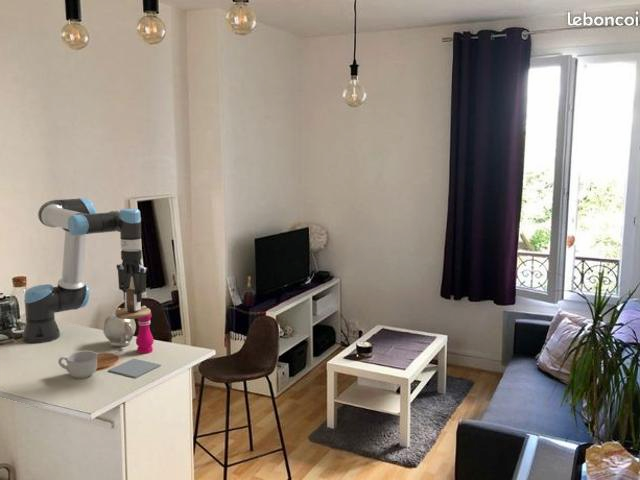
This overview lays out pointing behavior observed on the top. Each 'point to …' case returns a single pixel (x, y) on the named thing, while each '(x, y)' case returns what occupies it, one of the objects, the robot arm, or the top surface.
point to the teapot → (118, 330)
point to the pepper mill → (144, 336)
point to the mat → (134, 368)
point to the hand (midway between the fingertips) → (133, 308)
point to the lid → (132, 308)
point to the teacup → (80, 363)
